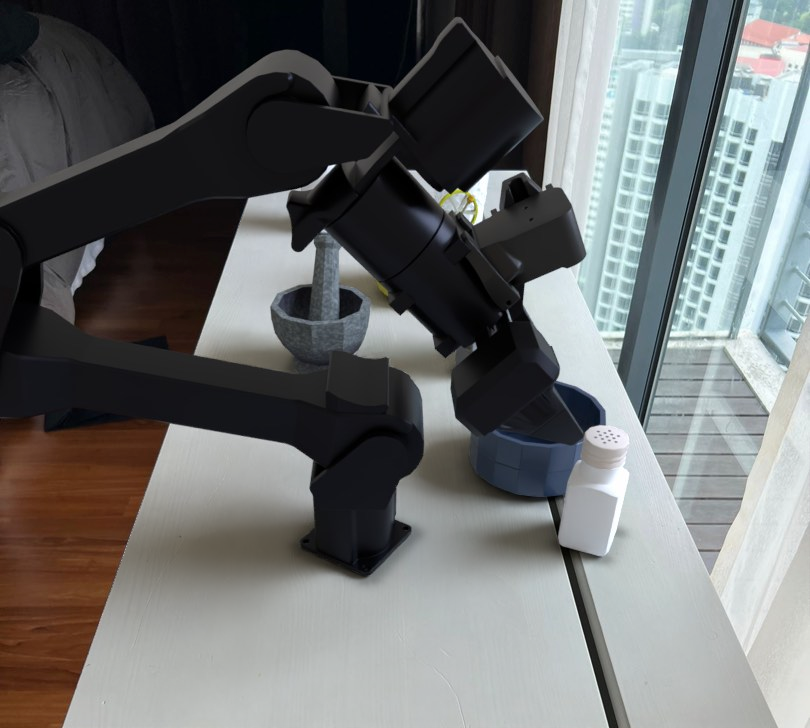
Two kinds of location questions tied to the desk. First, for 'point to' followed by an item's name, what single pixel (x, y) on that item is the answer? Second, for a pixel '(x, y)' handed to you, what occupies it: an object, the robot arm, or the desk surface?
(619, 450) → the pepper shaker
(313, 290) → the mortar and pestle
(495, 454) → the bowl
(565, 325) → the desk surface
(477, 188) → the white cup
